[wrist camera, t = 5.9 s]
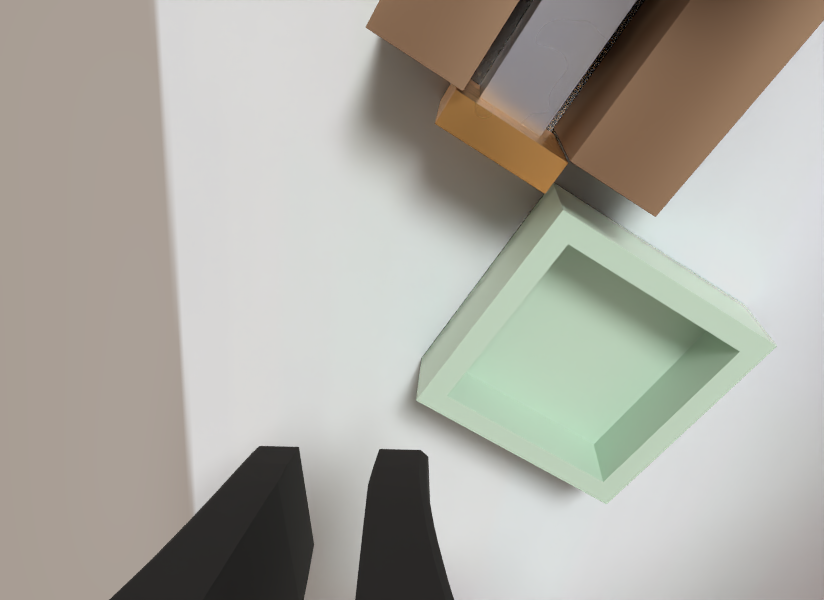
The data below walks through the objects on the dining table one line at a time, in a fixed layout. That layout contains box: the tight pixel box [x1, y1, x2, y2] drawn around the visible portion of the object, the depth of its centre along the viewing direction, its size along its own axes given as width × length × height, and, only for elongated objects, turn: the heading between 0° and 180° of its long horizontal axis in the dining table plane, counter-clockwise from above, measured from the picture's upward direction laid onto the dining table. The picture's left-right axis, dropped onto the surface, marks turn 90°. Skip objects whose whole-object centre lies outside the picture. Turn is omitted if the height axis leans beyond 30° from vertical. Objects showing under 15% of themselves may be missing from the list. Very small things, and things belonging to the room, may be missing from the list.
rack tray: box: [416, 183, 777, 504], centre depth 17 cm, size 6×6×2 cm
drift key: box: [435, 0, 637, 194], centre depth 13 cm, size 3×6×3 cm, turn 149°
